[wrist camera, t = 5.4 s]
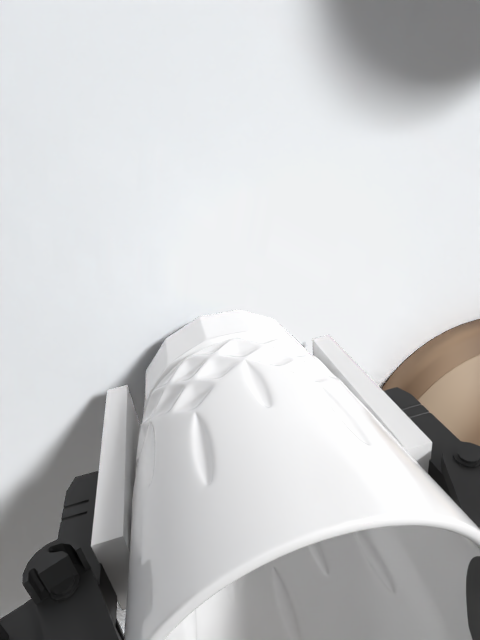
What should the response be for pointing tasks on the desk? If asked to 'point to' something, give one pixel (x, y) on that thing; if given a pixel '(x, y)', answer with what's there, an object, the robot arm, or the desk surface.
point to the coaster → (447, 379)
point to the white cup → (282, 503)
